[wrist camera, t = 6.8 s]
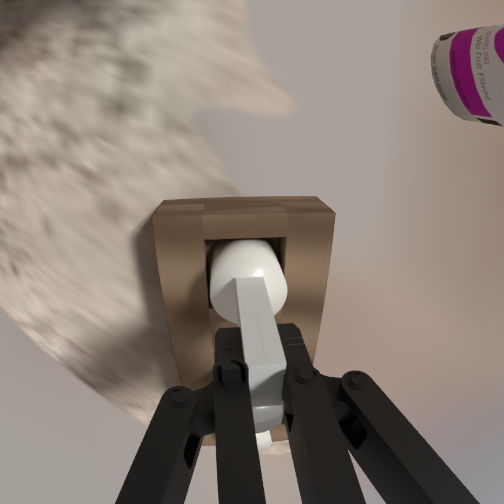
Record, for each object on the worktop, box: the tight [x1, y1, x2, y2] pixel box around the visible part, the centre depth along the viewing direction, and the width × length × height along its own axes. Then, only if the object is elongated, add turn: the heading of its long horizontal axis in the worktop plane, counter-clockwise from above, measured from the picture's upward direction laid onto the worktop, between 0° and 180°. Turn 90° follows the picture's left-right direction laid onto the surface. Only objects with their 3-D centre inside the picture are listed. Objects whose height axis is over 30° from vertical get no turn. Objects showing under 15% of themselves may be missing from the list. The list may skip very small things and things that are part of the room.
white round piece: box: [210, 238, 287, 324], centre depth 19 cm, size 4×4×4 cm
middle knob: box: [252, 404, 283, 434], centre depth 20 cm, size 4×4×4 cm
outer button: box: [256, 430, 272, 452], centre depth 26 cm, size 4×4×4 cm
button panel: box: [152, 196, 336, 446], centre depth 24 cm, size 26×11×4 cm, turn 0°
